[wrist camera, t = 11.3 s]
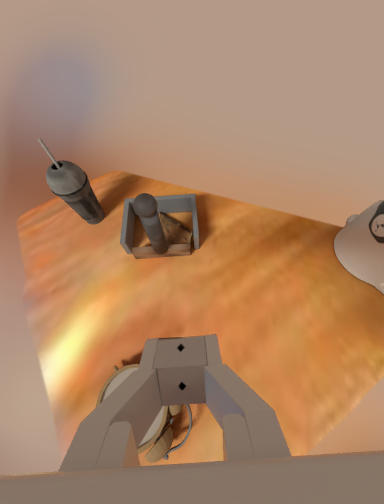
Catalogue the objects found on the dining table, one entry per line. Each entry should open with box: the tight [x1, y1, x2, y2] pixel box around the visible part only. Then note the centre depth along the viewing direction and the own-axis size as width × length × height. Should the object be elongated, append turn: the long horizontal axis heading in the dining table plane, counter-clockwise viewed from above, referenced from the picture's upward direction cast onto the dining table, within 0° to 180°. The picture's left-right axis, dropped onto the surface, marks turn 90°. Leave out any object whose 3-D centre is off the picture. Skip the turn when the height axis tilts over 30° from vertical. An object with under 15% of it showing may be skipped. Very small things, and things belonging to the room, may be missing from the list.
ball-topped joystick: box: [132, 193, 190, 259], centre depth 38 cm, size 12×4×18 cm, turn 94°
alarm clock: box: [96, 364, 192, 463], centre depth 33 cm, size 11×5×15 cm
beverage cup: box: [38, 138, 104, 224], centre depth 43 cm, size 7×7×20 cm
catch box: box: [120, 194, 199, 254], centre depth 47 cm, size 16×12×5 cm
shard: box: [160, 212, 193, 246], centre depth 49 cm, size 11×8×2 cm
